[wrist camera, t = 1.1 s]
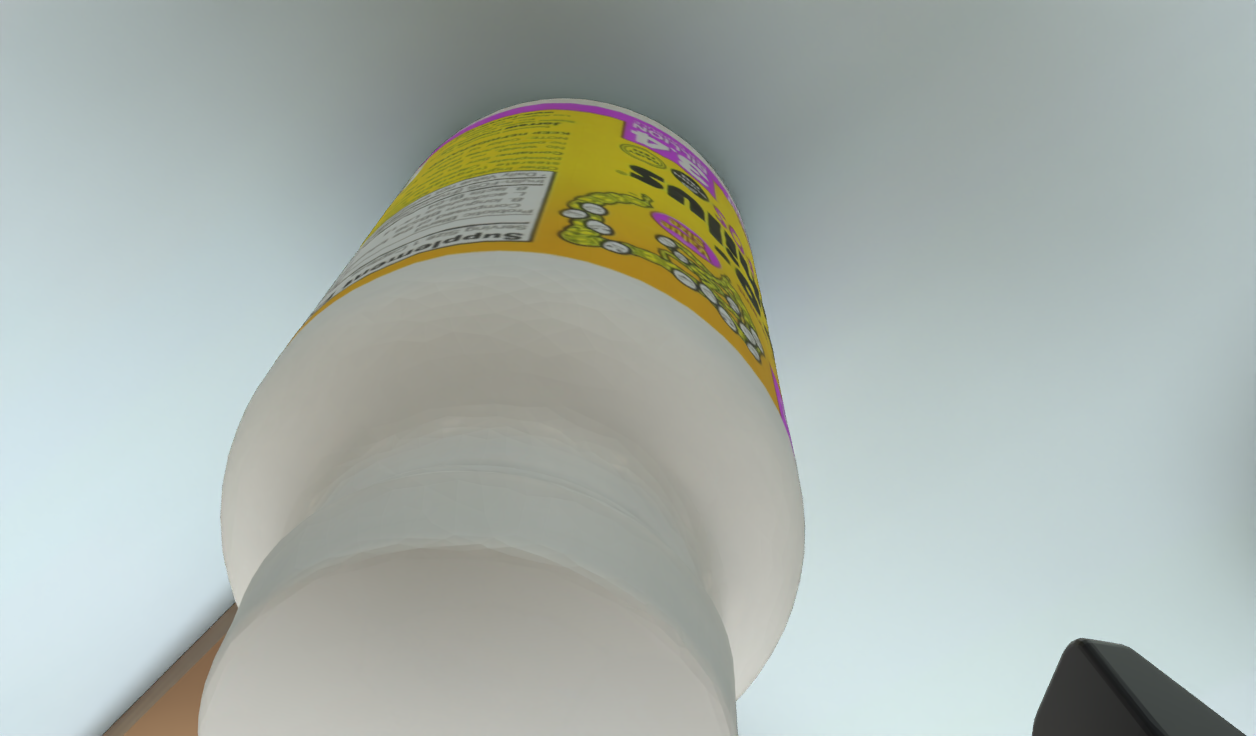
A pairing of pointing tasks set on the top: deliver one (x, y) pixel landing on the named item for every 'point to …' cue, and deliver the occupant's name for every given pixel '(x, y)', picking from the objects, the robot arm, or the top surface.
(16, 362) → the top surface
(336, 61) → the top surface
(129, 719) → the brown square tray
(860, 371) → the top surface
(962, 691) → the top surface
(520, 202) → the supplement bottle
